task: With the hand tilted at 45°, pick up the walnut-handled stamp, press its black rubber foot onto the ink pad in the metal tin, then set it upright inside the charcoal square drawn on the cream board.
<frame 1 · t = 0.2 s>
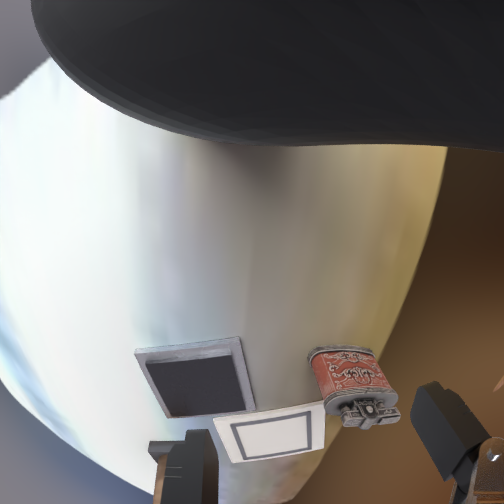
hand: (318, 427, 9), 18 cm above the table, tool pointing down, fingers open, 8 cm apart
marked board: (273, 434, 36), on the table
ink pad: (198, 381, 31), on the table
stamp: (173, 450, 36), on the table
lighter: (341, 355, 31), on the table
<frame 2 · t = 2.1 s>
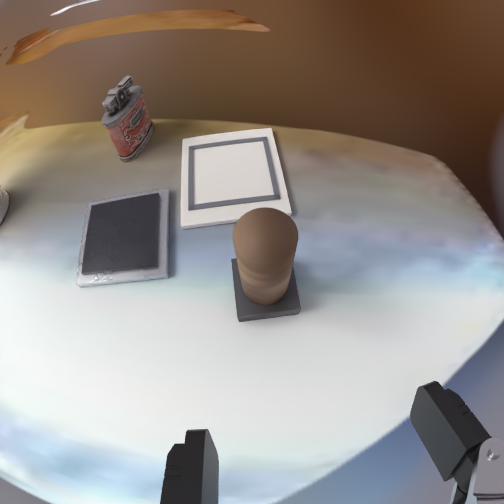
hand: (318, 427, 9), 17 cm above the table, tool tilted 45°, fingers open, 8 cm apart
marked board: (231, 173, 36), on the table
ink pad: (123, 237, 33), on the table
stamp: (264, 290, 29), on the table
lighter: (138, 142, 40), on the table
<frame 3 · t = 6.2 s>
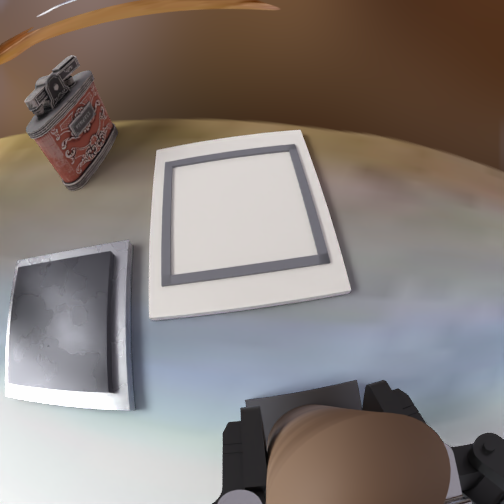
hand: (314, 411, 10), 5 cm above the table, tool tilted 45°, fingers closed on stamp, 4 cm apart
marked board: (237, 210, 21), on the table
ink pad: (63, 326, 17), on the table
stamp: (305, 438, 14), on the table, touching gripper
lighter: (93, 158, 25), on the table
when the fingers open (7 cm above the table, at t = 18.6 s): stamp stays where it is, resting on marked board.
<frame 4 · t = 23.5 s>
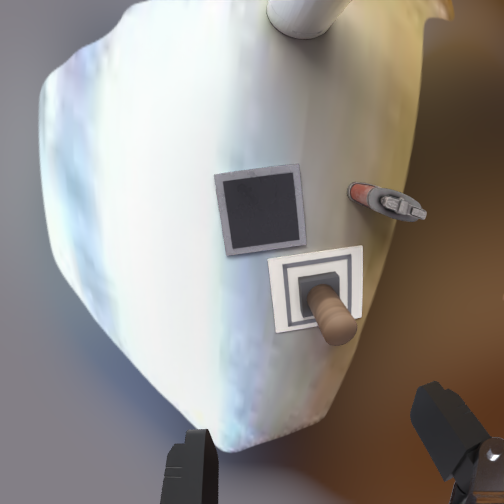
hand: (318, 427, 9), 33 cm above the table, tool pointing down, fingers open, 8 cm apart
marked board: (318, 289, 44), on the table
ink pad: (261, 209, 40), on the table
stamp: (317, 291, 44), point 1 cm above the table, touching marked board
lighter: (371, 196, 41), on the table
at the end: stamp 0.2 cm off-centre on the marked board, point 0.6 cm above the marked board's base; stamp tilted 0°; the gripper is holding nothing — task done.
